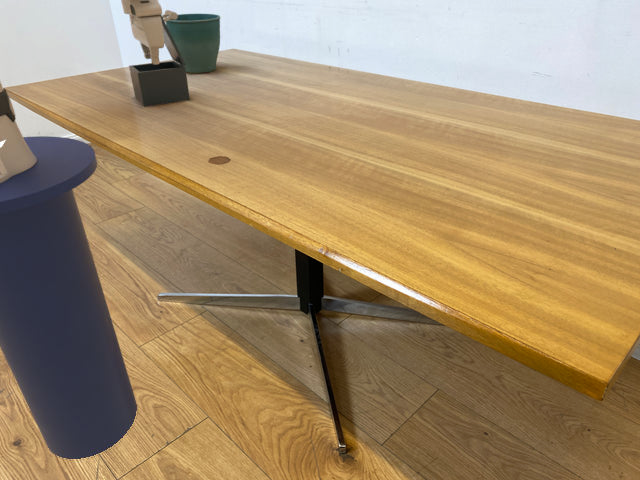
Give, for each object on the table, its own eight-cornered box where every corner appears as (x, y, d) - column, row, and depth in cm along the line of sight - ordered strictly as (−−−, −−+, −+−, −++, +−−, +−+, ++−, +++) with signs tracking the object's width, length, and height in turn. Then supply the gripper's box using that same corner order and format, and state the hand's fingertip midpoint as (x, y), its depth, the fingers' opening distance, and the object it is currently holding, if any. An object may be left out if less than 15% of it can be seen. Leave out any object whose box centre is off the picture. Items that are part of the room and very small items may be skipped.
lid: (158, 16, 122) (176, 7, 123) (148, 12, 129) (164, 4, 131) (183, 66, 130) (200, 57, 131) (172, 59, 138) (188, 51, 139)
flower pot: (227, 74, 162) (221, 19, 154) (171, 77, 159) (162, 21, 150) (224, 63, 177) (218, 12, 169) (173, 66, 174) (165, 14, 165)
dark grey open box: (144, 106, 130) (137, 72, 125) (135, 97, 137) (128, 65, 133) (190, 100, 135) (185, 67, 130) (179, 91, 143) (174, 60, 138)
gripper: (119, 1, 129) (132, 55, 137) (136, 10, 114) (149, 70, 122) (143, -1, 132) (154, 52, 140) (163, 7, 117) (174, 66, 125)
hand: (152, 61), depth 131 cm, fingers open, 7 cm apart
